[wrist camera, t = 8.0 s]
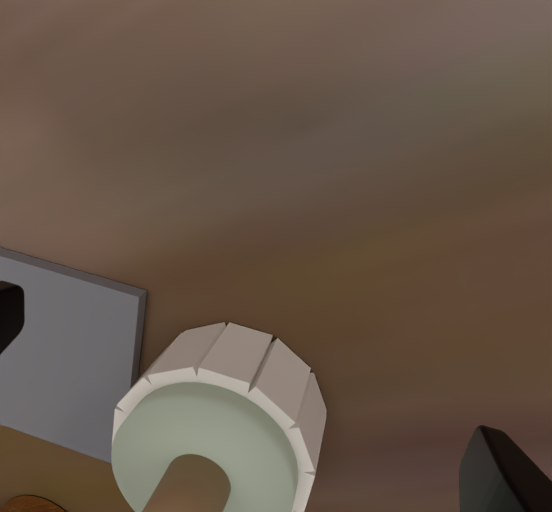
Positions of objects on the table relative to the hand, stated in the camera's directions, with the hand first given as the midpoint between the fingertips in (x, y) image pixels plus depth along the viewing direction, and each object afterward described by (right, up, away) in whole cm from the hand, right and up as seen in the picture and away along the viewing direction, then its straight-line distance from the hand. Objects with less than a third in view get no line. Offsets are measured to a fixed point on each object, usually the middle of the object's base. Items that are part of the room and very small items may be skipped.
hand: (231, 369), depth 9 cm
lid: (-2, -7, +12) cm, 14 cm away
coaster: (-12, -3, +17) cm, 21 cm away
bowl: (-1, -6, +15) cm, 16 cm away
